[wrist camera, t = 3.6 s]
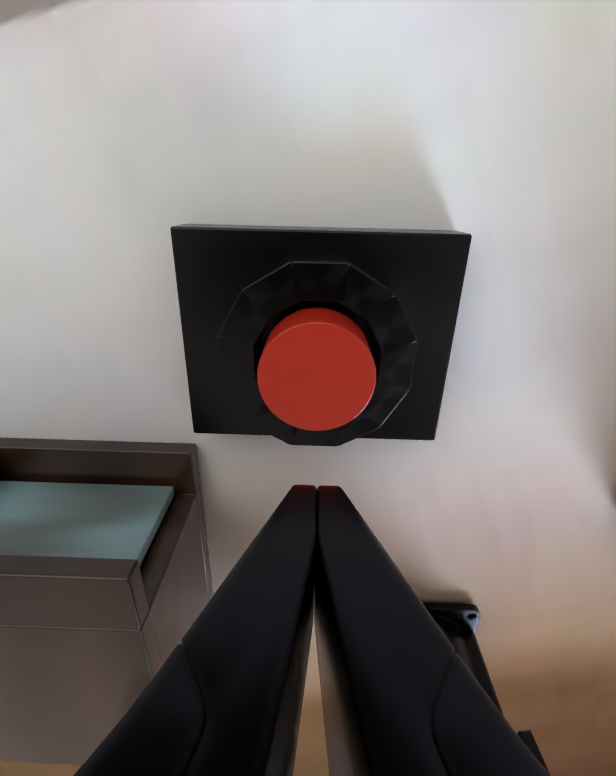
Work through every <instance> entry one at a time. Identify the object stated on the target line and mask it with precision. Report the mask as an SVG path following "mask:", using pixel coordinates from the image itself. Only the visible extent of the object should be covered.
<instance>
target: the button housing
mask: <svg viewBox="0 0 616 776" xmlns="http://www.w3.org/2000/svg"><path fill="white" fill-rule="evenodd" d="M171 237H172V246H173V255H174V263H175V272H176V281H177V289H178V298H179V307H180V316H181V324H182V333H183V342H184V350H185V359H186V368H187V377H188V385H189V394H190V403H191V412H192V420H193V429H194V433H214V434H247V435H272V436H274V437H276V438H278V439H280V440H282V441H284V442H286V443H288V444H291V445H311V446H337V445H338V446H339V445H342V444H344V443H346V442H348V441H351V440H353V439H355V438H376V439H408V440H434V439H435V434H436V428H437V423H438V418H439V412H440V407H441V401H442V396H443V390H444V385H445V379H446V374H447V368H448V363H449V358H450V352H451V347H452V341H453V336H454V330H455V325H456V319H457V314H458V308H459V303H460V298H461V292H462V287H463V281H464V276H465V270H466V265H467V259H468V254H469V248H470V243H471V237H472V236H471V234H467V233H463V232H459V231H450V230H411V229H371V228H332V227H292V226H253V225H213V224H183V225H178V226H173V227H171ZM317 307H319V308H327V309H332V310H335V311H338V312H340V313H342V314H344V315H346V316H347V317H349V318H350V319H352V320H353V321H354V322H355V323H356V324H357V325H358V326H359V328H360V329H361V330H362V332H363V333H364V335H365V337H366V340H367V342H368V345H369V348H370V351H371V354H372V356H373V359H374V363H375V367H376V384H375V389H374V392H373V395H372V397H371V399H370V401H369V403H368V404H367V406H366V407H365V408H364V410H363V411H362V412H361V413H360V414H359V415H358V416H357V417H356V418H354V419H353V420H351V421H350V422H348V423H346V424H344V425H342V426H339V427H337V428H333V429H329V430H322V431H312V430H305V429H300V428H297V427H294V426H292V425H289V424H287V423H285V422H284V421H282V420H281V419H279V418H278V417H277V416H276V415H275V414H274V413H273V412H272V411H271V410H270V409H269V408H268V407H267V405H266V404H265V402H264V400H263V399H262V396H261V394H260V391H259V387H258V381H257V370H258V364H259V361H260V358H261V355H262V352H263V350H264V347H265V344H266V341H267V339H268V337H269V335H270V333H271V331H272V330H273V328H274V327H275V326H276V325H277V324H278V323H279V322H280V321H281V320H282V319H283V318H285V317H286V316H288V315H290V314H292V313H294V312H296V311H299V310H302V309H306V308H317Z"/></svg>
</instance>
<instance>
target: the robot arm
mask: <svg viewBox="0 0 616 776" xmlns="http://www.w3.org/2000/svg"><path fill="white" fill-rule="evenodd" d="M313 610H314V620H315V634H316V644H317V654H318V664H319V675H320V685H321V695H322V705H323V715H324V725H325V735H326V745H327V755H328V766H329V776H551V775H550V773H549V771H548V769H547V766H546V764H545V762H544V760H543V757H542V755H541V753H540V751H539V749H538V746H537V744H536V742H535V740H534V737H533V735H532V733H531V731H530V730H522V731H518V734H517V733H516V732H515V731H514V730H513V728H512V727H511V726H510V724H509V723H508V722H507V720H506V719H505V718H504V716H503V713H502V710H501V707H500V704H499V702H498V699H497V696H496V693H495V690H494V688H493V685H492V682H491V679H490V676H489V674H488V671H487V668H486V665H485V663H484V660H483V657H482V654H481V651H480V649H479V646H478V643H477V640H476V637H475V632H476V629H477V626H478V622H479V619H480V613H479V610H478V608H477V606H475V605H473V604H453V603H424V602H421V600H420V599H419V597H418V596H417V595H416V593H415V592H414V590H413V589H412V588H411V586H410V585H409V583H408V582H407V580H406V579H405V578H404V576H403V575H402V573H401V572H400V571H399V569H398V568H397V566H396V565H395V563H394V562H393V561H392V559H391V558H390V556H389V555H388V554H387V552H386V551H385V549H384V548H383V546H382V545H381V544H380V542H379V541H378V539H377V538H376V536H375V535H374V534H373V532H372V531H371V529H370V528H369V527H368V525H367V524H366V522H365V521H364V519H363V518H362V517H361V515H360V514H359V512H358V511H357V510H356V508H355V507H354V505H353V504H352V502H351V501H350V500H349V498H348V497H347V495H346V494H345V493H344V491H343V490H342V488H341V487H339V486H319V487H318V488H317V489H316V487H315V486H313V485H294V486H293V487H292V488H291V489H290V491H289V492H288V493H287V495H286V496H285V497H284V499H283V500H282V502H281V503H280V504H279V506H278V507H277V509H276V510H275V511H274V513H273V514H272V515H271V517H270V518H269V520H268V521H267V522H266V524H265V525H264V526H263V528H262V529H261V531H260V532H259V533H258V535H257V536H256V537H255V539H254V540H253V542H252V543H251V544H250V546H249V547H248V549H247V550H246V551H245V553H244V554H243V555H242V557H241V558H240V560H239V561H238V562H237V564H236V565H235V566H234V568H233V569H232V571H231V572H230V573H229V575H228V576H227V577H226V579H225V580H224V582H223V583H222V584H221V586H220V587H219V588H218V590H217V591H216V593H215V594H214V595H213V597H212V598H211V600H210V601H209V602H208V604H207V605H206V606H205V608H204V609H203V611H202V612H201V613H200V615H199V616H198V617H197V619H196V620H195V622H194V623H193V624H192V626H191V627H190V628H189V630H188V631H187V633H186V634H185V635H184V637H183V638H182V644H178V645H177V646H176V647H175V649H174V650H173V651H172V653H171V654H170V656H169V657H168V658H167V660H166V661H165V663H164V664H163V665H162V667H161V668H160V669H159V671H158V672H157V674H156V675H155V676H154V677H153V679H152V680H151V681H150V683H149V684H148V685H147V687H146V688H145V689H144V690H143V692H142V693H141V694H140V696H139V697H138V698H137V700H136V701H135V702H134V704H133V705H132V706H131V707H130V709H129V710H128V711H127V713H126V714H125V715H124V716H123V718H122V719H121V720H120V721H119V722H118V724H117V725H116V726H115V727H114V728H113V729H112V731H111V732H110V733H109V734H108V735H107V737H106V738H105V739H104V740H103V741H102V743H101V744H100V745H99V746H98V747H97V748H96V750H95V751H94V752H93V753H92V754H91V756H90V757H89V758H88V759H87V760H86V762H85V763H84V764H83V765H82V766H81V767H80V769H79V770H78V771H77V772H76V773H75V774H74V775H73V776H293V768H294V761H295V753H296V746H297V738H298V731H299V723H300V716H301V708H302V701H303V693H304V686H305V678H306V671H307V664H308V656H309V649H310V641H311V634H312V624H313Z"/></svg>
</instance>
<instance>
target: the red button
mask: <svg viewBox="0 0 616 776" xmlns="http://www.w3.org/2000/svg"><path fill="white" fill-rule="evenodd" d="M257 381H258V387H259V391H260V394H261V396H262V399H263V400H264V402H265V404H266V405H267V407H268V408H269V409H270V410H271V411H272V412H273V413H274V414H275V415H276V416H277V417H278V418H279V419H281V420H282V421H284V422H285V423H287V424H289V425H292V426H294V427H297V428H300V429H305V430H312V431H322V430H329V429H333V428H337V427H339V426H342V425H344V424H346V423H348V422H350V421H351V420H353V419H354V418H356V417H357V416H358V415H359V414H360V413H361V412H362V411H363V410H364V408H365V407H366V406H367V404H368V403H369V401H370V399H371V397H372V395H373V392H374V389H375V384H376V367H375V363H374V359H373V356H372V354H371V351H370V348H369V345H368V342H367V340H366V337H365V335H364V333H363V332H362V330H361V329H360V328H359V326H358V325H357V324H356V323H355V322H354V321H353V320H352V319H350V318H349V317H347V316H346V315H344V314H342V313H340V312H338V311H335V310H332V309H327V308H319V307H317V308H306V309H302V310H299V311H296V312H294V313H292V314H290V315H288V316H286V317H285V318H283V319H282V320H281V321H280V322H279V323H278V324H277V325H276V326H275V327H274V328H273V330H272V331H271V333H270V335H269V337H268V339H267V341H266V344H265V347H264V350H263V352H262V355H261V358H260V361H259V364H258V370H257Z"/></svg>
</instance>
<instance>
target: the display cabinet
mask: <svg viewBox="0 0 616 776" xmlns="http://www.w3.org/2000/svg"><path fill="white" fill-rule="evenodd" d="M212 597H213V589H212V581H211V572H210V563H209V554H208V545H207V537H206V528H205V519H204V510H203V501H202V493H201V485H200V476H199V467H198V459H197V450H196V444H182V443H149V442H117V441H85V440H53V439H21V438H0V761H12V762H37V763H62V764H84V763H85V762H86V760H87V759H88V758H89V757H90V756H91V754H92V753H93V752H94V751H95V750H96V748H97V747H98V746H99V745H100V744H101V743H102V741H103V740H104V739H105V738H106V737H107V735H108V734H109V733H110V732H111V731H112V729H113V728H114V727H115V726H116V725H117V724H118V722H119V721H120V720H121V719H122V718H123V716H124V715H125V714H126V713H127V711H128V710H129V709H130V707H131V706H132V705H133V704H134V702H135V701H136V700H137V698H138V697H139V696H140V694H141V693H142V692H143V690H144V689H145V688H146V687H147V685H148V684H149V683H150V681H151V680H152V679H153V677H154V676H155V675H156V674H157V672H158V671H159V669H160V668H161V667H162V665H163V664H164V663H165V661H166V660H167V658H168V657H169V656H170V654H171V653H172V651H173V650H174V649H175V647H176V646H177V645H178V644H182V638H183V637H184V635H185V634H186V633H187V631H188V630H189V628H190V627H191V626H192V624H193V623H194V622H195V620H196V619H197V617H198V616H199V615H200V613H201V612H202V611H203V609H204V608H205V606H206V605H207V604H208V602H209V601H210V600H211V598H212Z"/></svg>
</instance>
